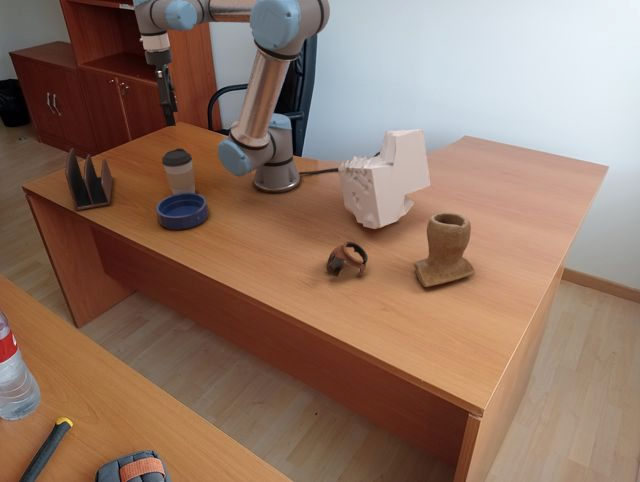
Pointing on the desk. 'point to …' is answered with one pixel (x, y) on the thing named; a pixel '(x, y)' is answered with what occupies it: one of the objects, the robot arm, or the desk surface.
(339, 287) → the desk surface
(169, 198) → the bowl
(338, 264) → the brown curved piece
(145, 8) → the robot arm
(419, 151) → the jagged white plaster chunk
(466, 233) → the stone cup
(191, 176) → the coffee cup
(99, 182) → the letter holder
